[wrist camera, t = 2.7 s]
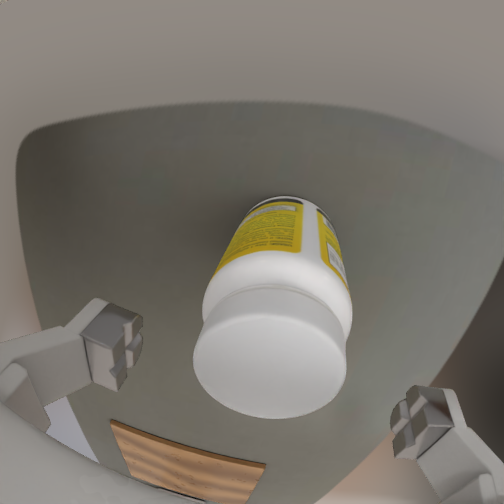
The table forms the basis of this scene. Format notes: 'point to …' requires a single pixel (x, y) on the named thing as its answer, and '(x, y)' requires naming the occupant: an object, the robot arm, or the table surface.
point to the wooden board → (186, 467)
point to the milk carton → (183, 496)
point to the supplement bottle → (276, 314)
